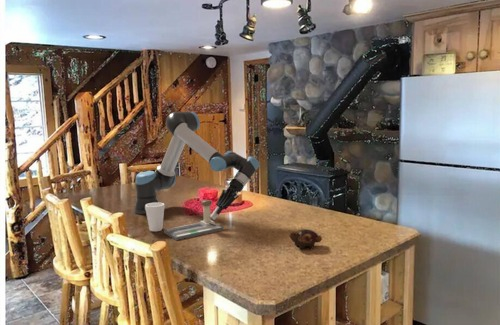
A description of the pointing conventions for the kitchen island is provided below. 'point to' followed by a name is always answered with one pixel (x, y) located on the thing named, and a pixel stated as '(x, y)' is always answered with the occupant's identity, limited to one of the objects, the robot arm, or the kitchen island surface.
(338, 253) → the kitchen island surface
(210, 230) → the board
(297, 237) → the decorative turtle
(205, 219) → the tuning slider
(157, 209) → the foam cup
